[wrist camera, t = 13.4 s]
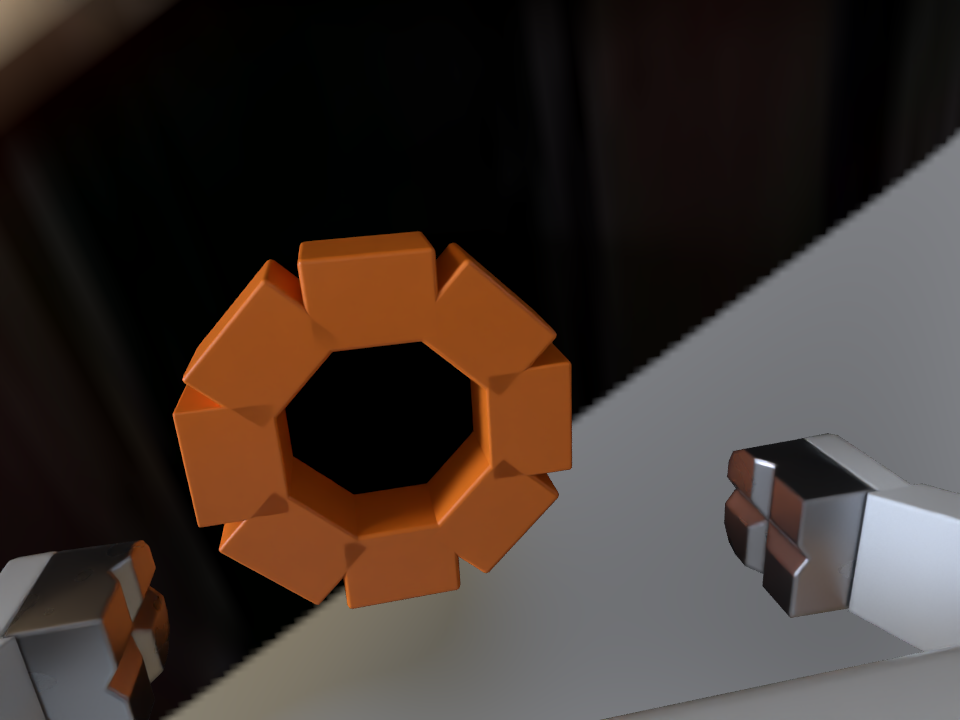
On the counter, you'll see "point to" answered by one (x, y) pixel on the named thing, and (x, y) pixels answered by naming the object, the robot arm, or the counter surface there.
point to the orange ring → (387, 513)
